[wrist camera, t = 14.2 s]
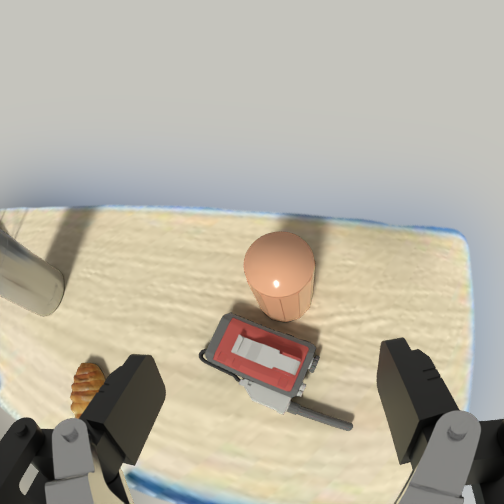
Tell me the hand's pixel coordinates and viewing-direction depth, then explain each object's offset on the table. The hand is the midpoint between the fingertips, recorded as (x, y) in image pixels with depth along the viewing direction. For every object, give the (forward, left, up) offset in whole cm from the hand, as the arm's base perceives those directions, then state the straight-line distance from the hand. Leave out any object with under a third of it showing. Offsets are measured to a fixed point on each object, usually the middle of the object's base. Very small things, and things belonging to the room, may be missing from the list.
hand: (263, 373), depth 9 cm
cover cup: (-3, +10, -25) cm, 27 cm away
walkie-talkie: (-1, +1, -25) cm, 25 cm away
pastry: (-25, -12, -25) cm, 37 cm away
